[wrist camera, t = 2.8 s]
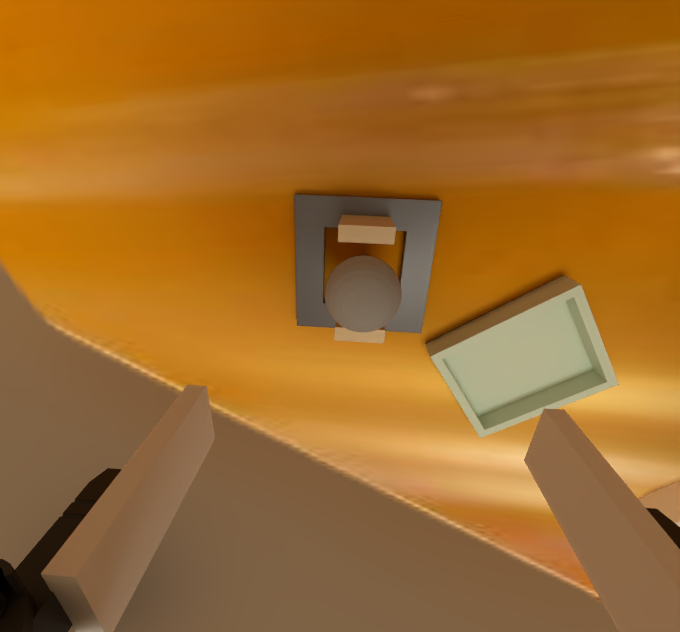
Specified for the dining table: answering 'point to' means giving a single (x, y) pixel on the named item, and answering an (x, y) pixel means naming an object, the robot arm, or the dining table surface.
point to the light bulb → (363, 294)
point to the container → (665, 501)
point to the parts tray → (525, 357)
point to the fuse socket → (364, 227)
